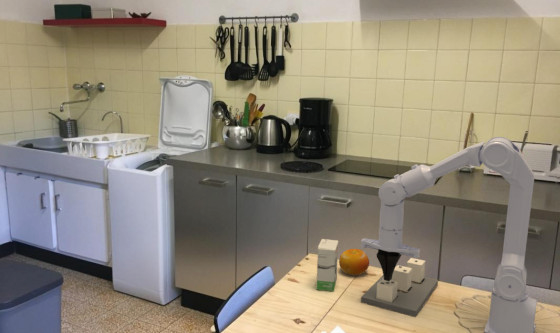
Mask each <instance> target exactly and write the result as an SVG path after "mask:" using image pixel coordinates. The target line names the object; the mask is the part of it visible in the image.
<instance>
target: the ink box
mask: <svg viewBox="0 0 560 333" xmlns="http://www.w3.org/2000/svg"><path fill="white" fill-rule="evenodd" d="M338 253H339V240H336V239H327V238H321V240H320V242H319V243H318V245H317V264H316V290H318V291H326V292H327V291H328V292H334V291H335V289H336V284H337V278H338V276H337V275H338V260H339V256H338V255H339V254H338Z"/></svg>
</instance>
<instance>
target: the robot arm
mask: <svg viewBox="0 0 560 333" xmlns="http://www.w3.org/2000/svg"><path fill="white" fill-rule="evenodd" d="M482 165H484V166H485V167H486V168H488V169H489V170H492V171H494V172H496V173H498V174H500V176H501V177H502V178H503V179H505V181H507V183H508V184H509V193H508V203H507V209H506V210H507V211H506V221H505V229H504V239H503V247H502V248H503V249H502V255H501V256H502V257H501V261H500V263H499V264H498V265H497V267H496V275H495V278H494V281H493V286H492V288H491V294H490V295H491V297H490V305H489V306H490V307H489V314H488V316H489V317H488V319H487V322H486V324H485V327H484V329H483V330H484V331H483V332H484V333H535V332H536V328H537V327H536V325H537V324H535V321H536V313H537V304H538V300H537V299H535V298H532V297H530V296H529V295H528V292H527V278H528V272H527V271H528V270H527V267H526V265H525V261H526V260H525V259H526V258H525V257H526V250H527V241H528V233H529V225H530V216H531V209H532V200H533V194H534V193H533V192H534V184H535V173H534V172H533V170H532V168H531V166H530V165H529V163H528V161H527V160H526V157H525V156H524V155H523V153H522V151H521V149H520V147H519V146H518V145H516V144H515V143H514V142H513V141H512V140H511V139H509V138H507V137H505V136H494V137H492V138H490V139H489V140H488V141H487V142H486V140H485V141H481V142H478V143H476V144H475V143H474V144H473V145H470V146H468V147H465V148H463V149H461V150H460V151H458V152H456V153H454V154H452V155H450V156H448V157H446V158H444V159H442V160H440V161H438V162H436V163H435V164H433V165H431V166H430V165H426V164H420V165H418V164H414V165H412V166H411V168H410V170H408V171H406V172H403V173H402V174H399V173H398V174H395V175H393V178H391V179H389V180H387V181H385V182H383V184H382V185H381V186H380V187H379V189H378V198H379V199H380V209H379V221H378V222H379V224H378V239H370V238H362V239H361V241H360V248H362V249H366V248H367V249H370V250H371V249H372V250H375V251H376V250H377V253H376V259H377V260H378V262H379V264H380V267H381V271H382V274H383V275H382V276H384V280H386V281H390V280H391V279H392V275H393V272H394V269H395V267H396V266H397V265H398V262H399V260H400V259H401V257H402V256H406V257H410V258H414V259H419V258H420V255H421V248H418V247H413V246H410V245H408V244H404V243H403V233H404V231H403V230H404V217H405V216H404V215H405V209H404V208H405V199H406V198H411V197H413V196H415V195H417V194H420V193H422V192H424V191H426V190H428V189H430V188H432V187H434V186H435V184H436V183H435V182H436V181H437V179H438V178H441V177H443V176H446V175H448V174H450V173H452V172H455V171H457V170H460V169H462V168H464V167H467V166H470V167H471V166H473V167H479V168H480V167H481V166H482Z"/></svg>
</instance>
